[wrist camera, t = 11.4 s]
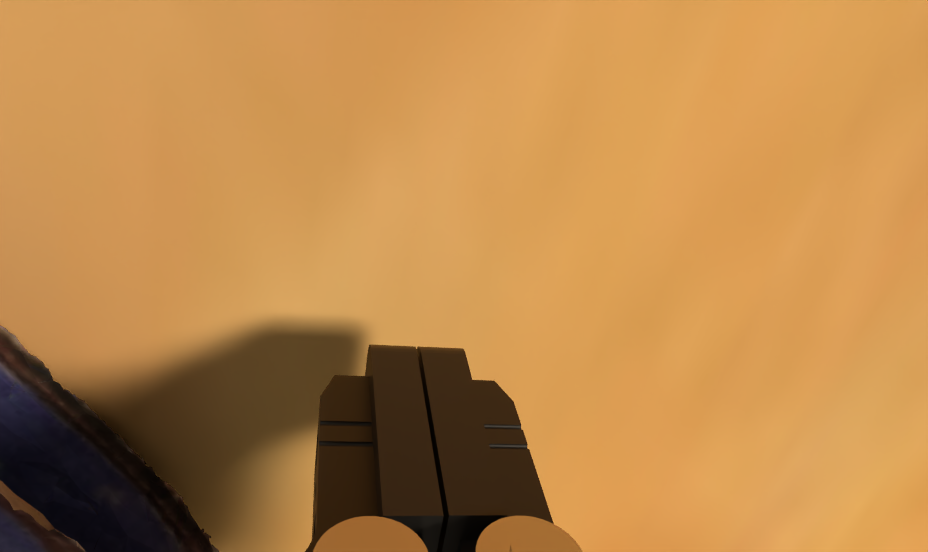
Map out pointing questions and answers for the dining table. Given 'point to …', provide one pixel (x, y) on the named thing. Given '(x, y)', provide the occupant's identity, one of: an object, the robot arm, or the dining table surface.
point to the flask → (76, 474)
